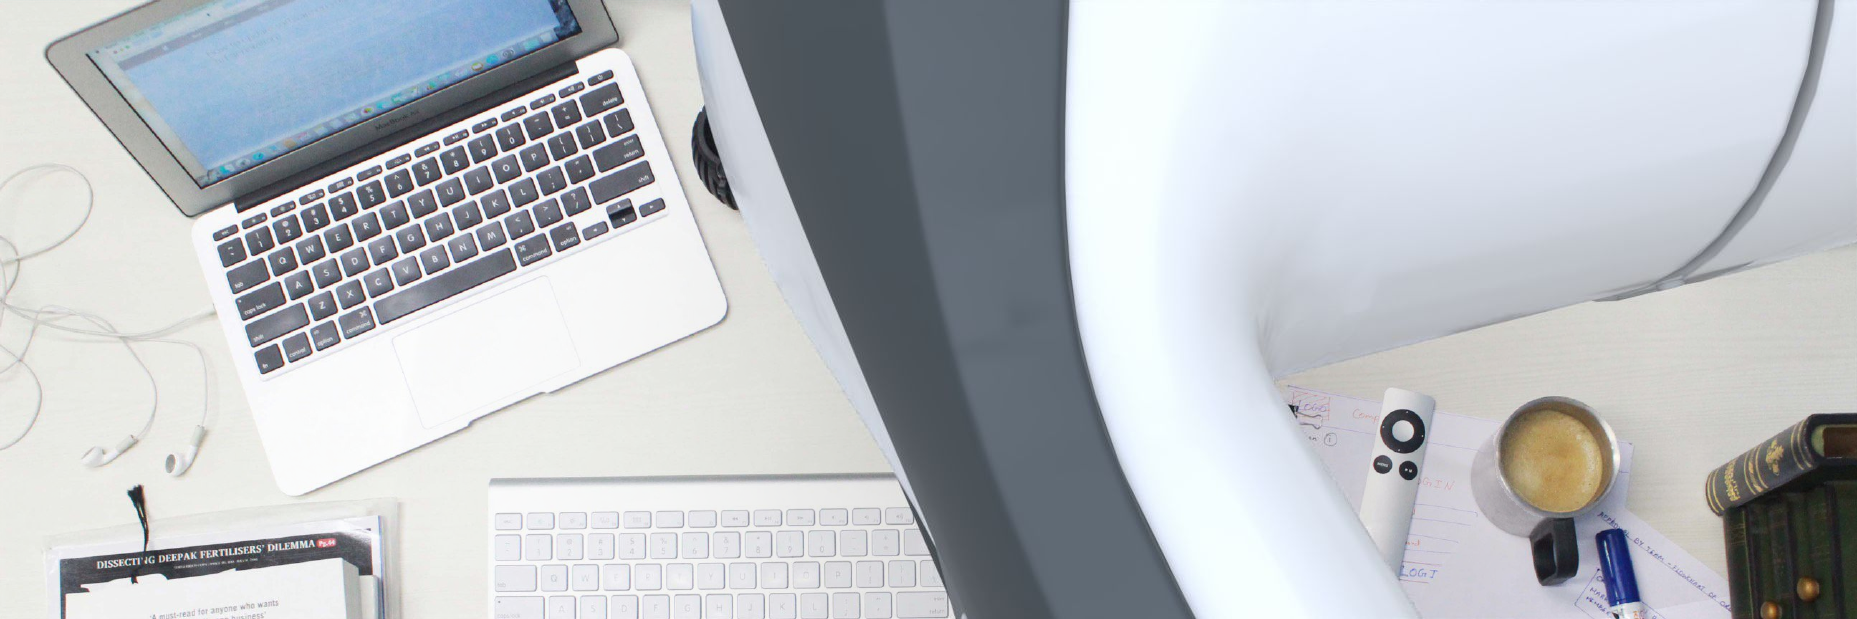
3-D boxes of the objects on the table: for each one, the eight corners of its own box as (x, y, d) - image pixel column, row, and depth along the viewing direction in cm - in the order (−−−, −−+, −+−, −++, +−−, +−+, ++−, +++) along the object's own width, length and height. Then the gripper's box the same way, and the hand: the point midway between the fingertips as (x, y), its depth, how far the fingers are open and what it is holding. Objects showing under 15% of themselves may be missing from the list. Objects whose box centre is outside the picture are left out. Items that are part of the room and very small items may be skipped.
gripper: (1386, -558, 26) (1238, -191, 40) (898, 50, 23) (916, 225, 37) (1609, -436, 26) (1380, -104, 39) (1133, 212, 23) (1063, 330, 36)
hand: (1152, 59), depth 38 cm, fingers open, 8 cm apart
